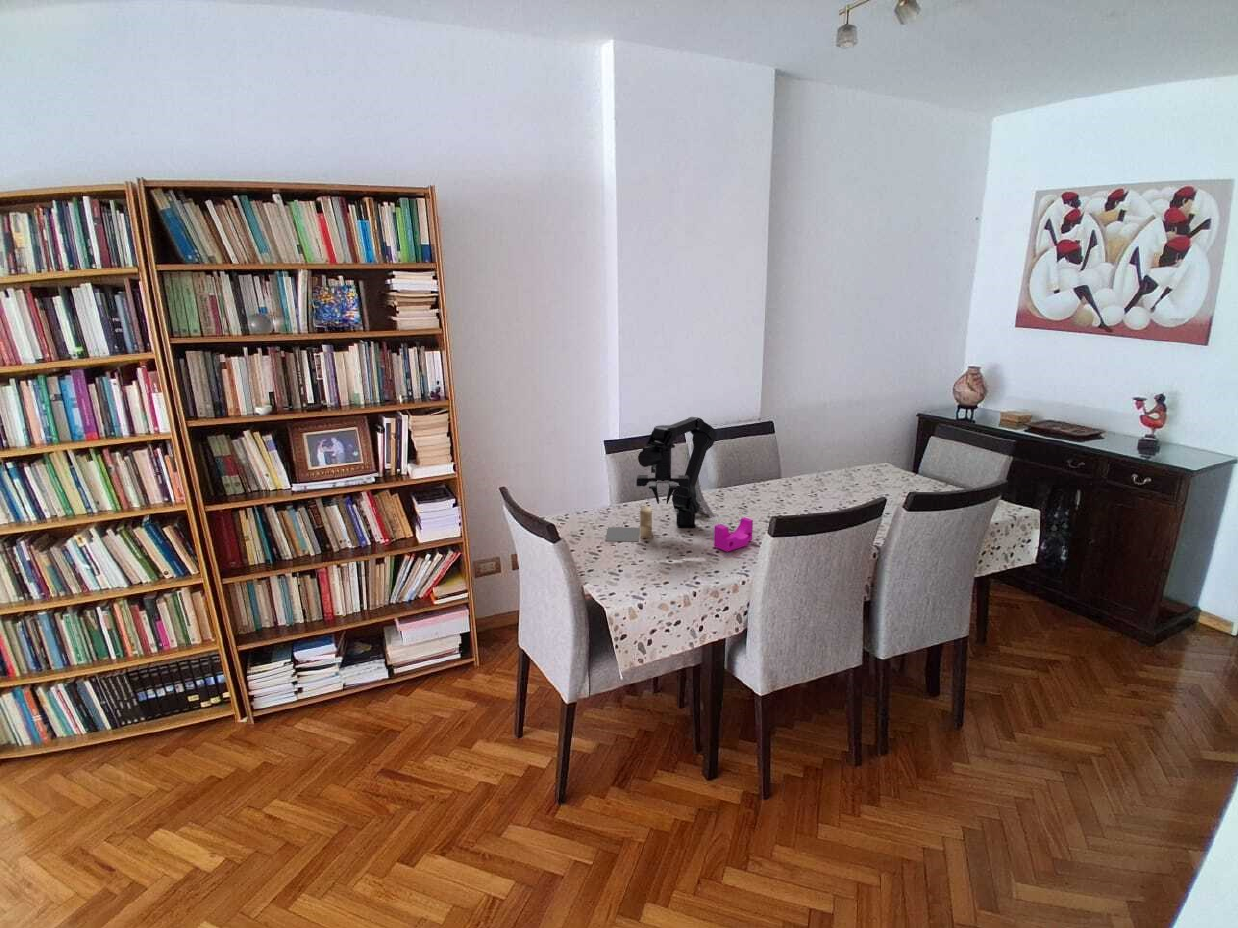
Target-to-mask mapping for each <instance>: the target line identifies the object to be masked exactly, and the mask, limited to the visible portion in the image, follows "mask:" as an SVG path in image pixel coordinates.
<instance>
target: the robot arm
mask: <svg viewBox="0 0 1238 928" xmlns="http://www.w3.org/2000/svg"><path fill="white" fill-rule="evenodd" d="M689 432H690V433H691V434H692V437H691V440H692V441H691V442H692V445H694V448H693V451H692V452H691V455H690V457H689V461H688V464H687V467H686V469H685V472H684V475H683V474H682V475H681V474H679V475H677V477H672V449H674V448H675V447H676V445H675V444H673V442H675V441H676V440H677V439H678V437H679V436H682V435H685V434H687V433H689ZM717 437H718V436H717V432H716V429H715V428H714V427H712V426H711V425H710V424H709V423H707V422H705V421H704V419H702V418H701V417H696V416H690V417H688V418H686V419H683V420H681V421H677V422H675V423H673V424H668V425H667V424H666V425H664V424H663V425H656V426H654V427H653V429H652V431H651V434H650V436H649V439H648V440H647V443H646V446H643V447H642V450H641V451H640V452H639V454H638V455H637V459H638V463H639V465H641V466H642V467H643V468H647V467H651V470H650V472H651V474H654V477H649V475H648V474H638V475H637V476H636V487H647V485H648V489H649V490H650V489H651V491H652V493H653V494H654V497H655V500H656V502H657V504H658V505H659V503H660V496H659V491H658V484H668V487H667V493H666V505H668V504H669V501H670V500H671V501H672V506H673V509H678V511H676V518H675V519H676V520H675V521H676V523H675V524H676V525H677V528H679V529H680V528H681V529H696V513H697V514H698V512H699V511H700V509H701V508H700V504H699V503H698V502H697V501H696V490H695V485H696V482H697V479H698V477H700V476H699V474H700V472H701V469H702V466H703V464H704V463H703V462H704V460H705V457H706V453H707V451H709V449H711V448H712V446H714V443H715V441H716V439H717Z"/></svg>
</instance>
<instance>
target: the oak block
mask: <svg viewBox="0 0 1238 928" xmlns="http://www.w3.org/2000/svg"><path fill="white" fill-rule="evenodd" d="M652 508H653V507H652V506H646V505H645V506H644V505H641V506H640V510H639V511H640V513H639V515H640V516H639V517H640V518H639V519H640V520H639V521H640V522H639V523H640V527H639V528H640V532H639V539H652V534H653V532H652V530H653V529H652V528H653V527H652V526H653V525H652V523H653V522H652V521H653V517H652V514H653V513H652V511H653V509H652Z"/></svg>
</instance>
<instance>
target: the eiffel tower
mask: <svg viewBox="0 0 1238 928" xmlns="http://www.w3.org/2000/svg"><path fill="white" fill-rule="evenodd" d="M693 448H694V445H693V444H692V445H691V450H692V451H693ZM699 477H700V476H698V479H697V482H696V485H695V490H696V501H697V502H698V503H699V504H700V509H703V510H704V511H705V512H706V514H707V516H708V517H709V518H716V515H715V514H714V512H713V511H712V509H711V508H710V506H709V505H708V504H707V503H708V501H707V500H706V499H705V497H704V495H703V492H702V490H701V487H702V485H701V484H700V479H699ZM672 510H673V512H678V509H674V508H673V509H672Z"/></svg>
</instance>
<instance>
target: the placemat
mask: <svg viewBox="0 0 1238 928" xmlns="http://www.w3.org/2000/svg"><path fill="white" fill-rule="evenodd" d="M639 541H640V527H628V526H627V527H624V526H623V527H622V526H621V527H620V526H619V527H618V526H617V527H614V526H609V527H607V530H606V534H605V538H604V542H619V543H620V542H621V543H622V542H628V543H630V542H632V543H633V542H634V543H635V542H636V543H637V542H639Z"/></svg>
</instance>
